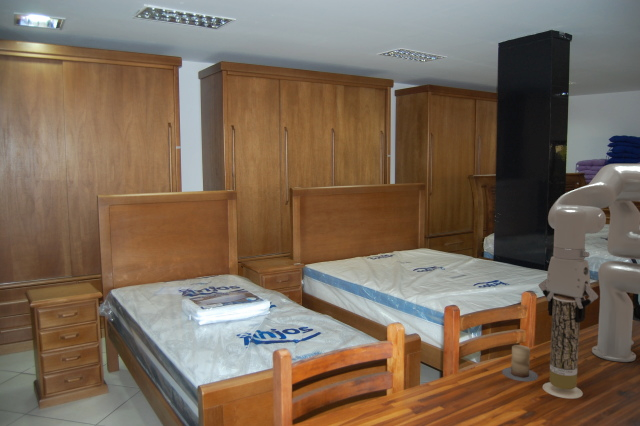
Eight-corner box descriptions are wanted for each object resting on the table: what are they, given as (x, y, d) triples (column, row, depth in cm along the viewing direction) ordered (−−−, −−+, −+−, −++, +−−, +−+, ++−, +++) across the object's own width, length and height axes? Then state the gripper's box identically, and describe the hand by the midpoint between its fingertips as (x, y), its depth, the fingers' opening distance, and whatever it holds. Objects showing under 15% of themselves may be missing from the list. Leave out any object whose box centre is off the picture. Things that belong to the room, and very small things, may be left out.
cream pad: (554, 379, 146) (554, 379, 146) (589, 392, 137) (589, 391, 137) (535, 388, 140) (535, 388, 140) (570, 402, 132) (570, 401, 132)
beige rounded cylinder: (517, 369, 153) (518, 343, 152) (532, 374, 149) (533, 348, 148) (507, 373, 150) (508, 347, 149) (522, 379, 146) (523, 352, 145)
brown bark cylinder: (579, 391, 135) (584, 301, 132) (552, 389, 136) (556, 299, 133) (572, 380, 141) (576, 294, 139) (546, 378, 143) (550, 293, 140)
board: (516, 367, 157) (516, 363, 157) (591, 394, 138) (591, 390, 138) (493, 376, 150) (493, 373, 150) (568, 407, 131) (568, 402, 131)
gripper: (609, 257, 130) (605, 323, 132) (546, 248, 144) (543, 308, 146) (594, 260, 126) (591, 329, 127) (531, 250, 140) (528, 312, 142)
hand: (565, 317), depth 137 cm, fingers closed on brown bark cylinder, 6 cm apart
